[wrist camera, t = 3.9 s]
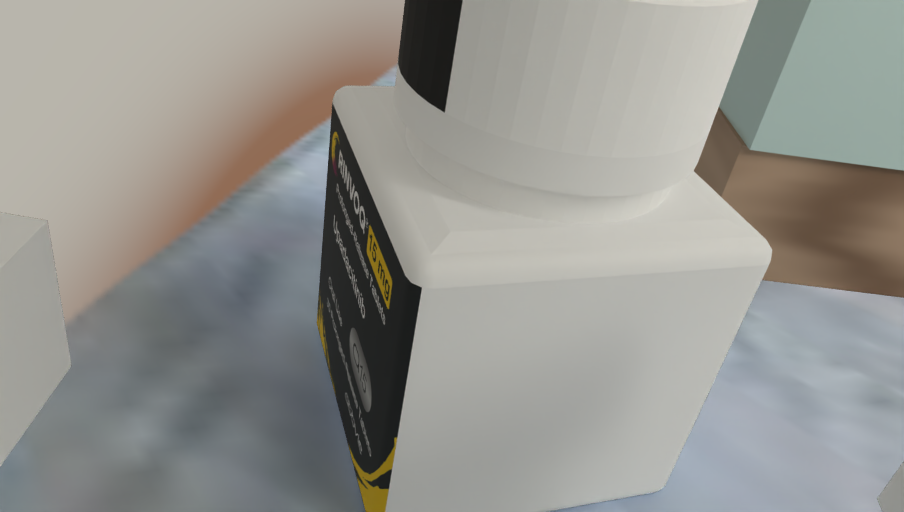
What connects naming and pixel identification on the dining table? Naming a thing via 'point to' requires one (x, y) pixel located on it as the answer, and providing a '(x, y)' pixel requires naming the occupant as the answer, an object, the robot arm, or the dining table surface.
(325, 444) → the dining table surface
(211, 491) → the dining table surface
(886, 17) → the tower top block
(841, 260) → the tower base block
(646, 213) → the medicine bottle
